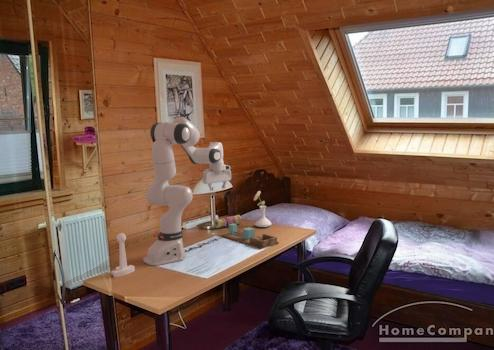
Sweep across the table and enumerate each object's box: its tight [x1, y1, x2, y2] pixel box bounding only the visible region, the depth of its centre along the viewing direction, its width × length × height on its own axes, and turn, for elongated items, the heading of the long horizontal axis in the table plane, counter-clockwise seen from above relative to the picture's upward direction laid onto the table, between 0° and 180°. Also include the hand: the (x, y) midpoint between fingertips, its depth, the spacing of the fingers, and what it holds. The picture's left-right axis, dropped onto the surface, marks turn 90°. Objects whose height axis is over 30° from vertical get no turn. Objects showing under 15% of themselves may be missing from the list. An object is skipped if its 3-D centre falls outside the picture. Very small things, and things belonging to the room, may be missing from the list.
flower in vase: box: [253, 190, 273, 228], centre depth 280 cm, size 13×11×25 cm
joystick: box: [110, 232, 136, 278], centre depth 202 cm, size 11×8×20 cm
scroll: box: [213, 214, 242, 229], centre depth 283 cm, size 8×8×20 cm
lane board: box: [221, 230, 279, 250], centre depth 251 cm, size 14×36×4 cm, turn 41°
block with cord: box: [228, 223, 256, 240], centre depth 256 cm, size 5×19×6 cm, turn 41°
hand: (217, 189), depth 261 cm, fingers open, 8 cm apart
